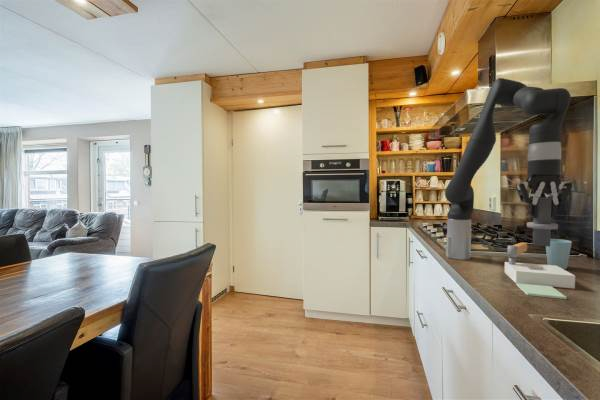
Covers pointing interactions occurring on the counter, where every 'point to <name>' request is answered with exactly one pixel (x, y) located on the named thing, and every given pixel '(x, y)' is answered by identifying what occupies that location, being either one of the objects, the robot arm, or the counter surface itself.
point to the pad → (541, 291)
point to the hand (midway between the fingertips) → (542, 217)
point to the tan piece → (516, 249)
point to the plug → (542, 223)
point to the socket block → (539, 274)
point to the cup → (558, 252)
